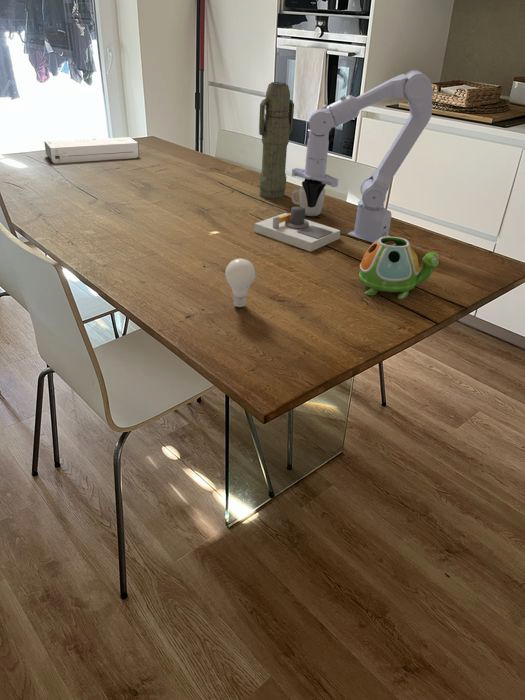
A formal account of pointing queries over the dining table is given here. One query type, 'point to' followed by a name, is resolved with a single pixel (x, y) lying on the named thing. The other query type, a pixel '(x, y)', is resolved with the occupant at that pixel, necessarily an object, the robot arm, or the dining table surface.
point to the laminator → (91, 149)
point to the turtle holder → (394, 267)
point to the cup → (303, 202)
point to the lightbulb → (240, 279)
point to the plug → (297, 218)
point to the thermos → (275, 139)
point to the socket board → (299, 234)
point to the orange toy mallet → (280, 220)
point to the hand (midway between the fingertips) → (311, 206)
